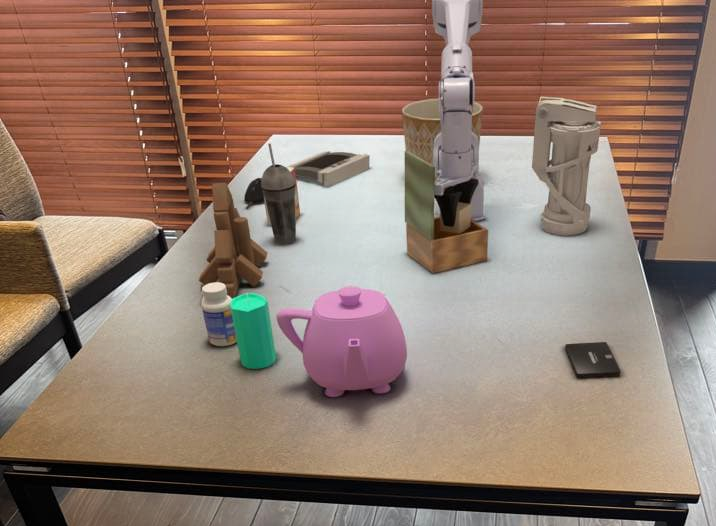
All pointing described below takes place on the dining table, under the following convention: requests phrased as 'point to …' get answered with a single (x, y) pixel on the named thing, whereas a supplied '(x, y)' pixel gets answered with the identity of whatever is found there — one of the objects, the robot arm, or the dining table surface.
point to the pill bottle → (218, 314)
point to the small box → (297, 208)
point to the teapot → (349, 340)
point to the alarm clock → (331, 166)
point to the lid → (419, 194)
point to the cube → (459, 219)
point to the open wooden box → (448, 247)
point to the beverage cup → (280, 201)
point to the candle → (253, 330)
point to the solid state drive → (592, 359)
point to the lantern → (565, 161)
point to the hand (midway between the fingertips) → (455, 221)
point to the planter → (430, 126)
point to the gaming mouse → (254, 193)
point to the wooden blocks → (231, 246)
